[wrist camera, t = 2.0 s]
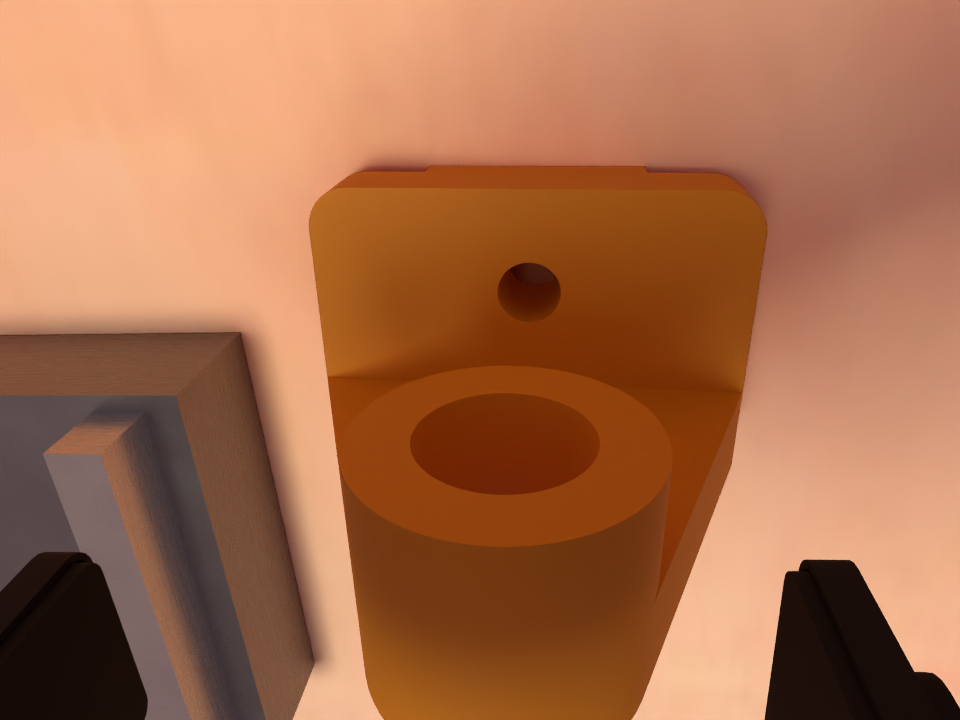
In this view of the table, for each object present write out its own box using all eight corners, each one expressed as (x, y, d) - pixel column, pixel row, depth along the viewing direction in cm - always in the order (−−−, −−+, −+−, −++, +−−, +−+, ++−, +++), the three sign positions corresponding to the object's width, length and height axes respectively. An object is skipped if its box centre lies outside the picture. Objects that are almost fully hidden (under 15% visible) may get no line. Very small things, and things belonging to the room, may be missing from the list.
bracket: (748, 166, 19) (976, 389, 8) (714, 413, 22) (844, 812, 11) (337, 164, 20) (56, 356, 9) (361, 399, 23) (172, 744, 12)
